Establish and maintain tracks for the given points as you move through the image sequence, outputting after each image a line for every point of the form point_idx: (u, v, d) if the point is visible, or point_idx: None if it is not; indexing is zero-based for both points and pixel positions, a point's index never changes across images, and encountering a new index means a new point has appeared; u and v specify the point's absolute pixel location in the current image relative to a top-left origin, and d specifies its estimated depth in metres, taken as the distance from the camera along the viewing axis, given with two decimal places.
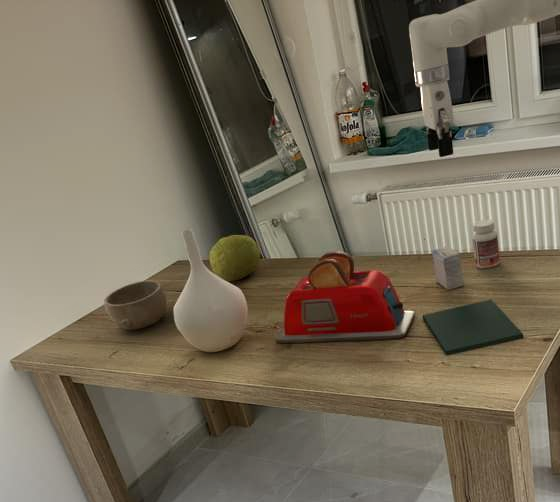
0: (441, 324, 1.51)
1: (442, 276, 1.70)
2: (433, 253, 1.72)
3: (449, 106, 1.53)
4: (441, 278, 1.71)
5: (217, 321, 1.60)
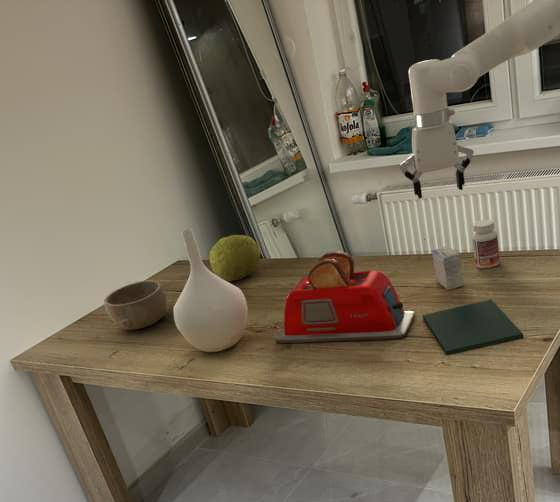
0: (441, 324, 1.51)
1: (442, 276, 1.70)
2: (433, 253, 1.72)
3: None
4: (441, 278, 1.71)
5: (217, 321, 1.60)
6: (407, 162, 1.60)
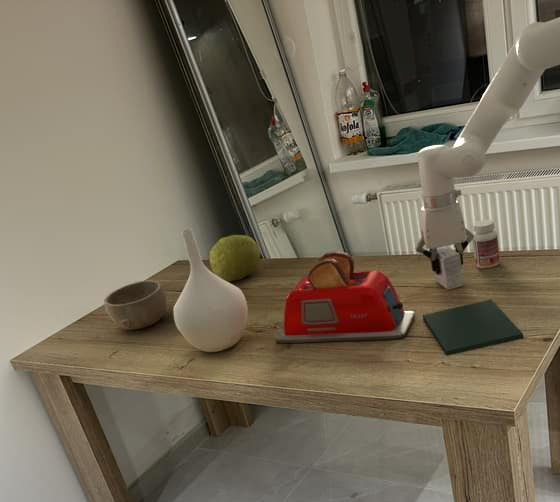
0: (441, 324, 1.51)
1: (442, 276, 1.70)
2: None
3: None
4: (441, 278, 1.71)
5: (217, 321, 1.60)
6: (421, 243, 1.67)
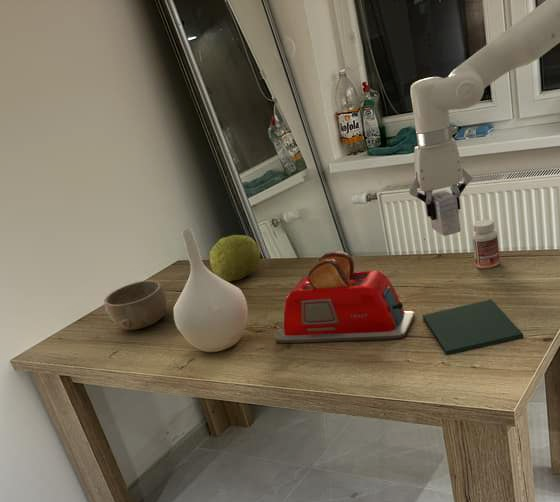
0: (441, 324, 1.51)
1: (438, 221, 1.59)
2: None
3: None
4: (436, 224, 1.61)
5: (217, 321, 1.60)
6: (415, 185, 1.56)
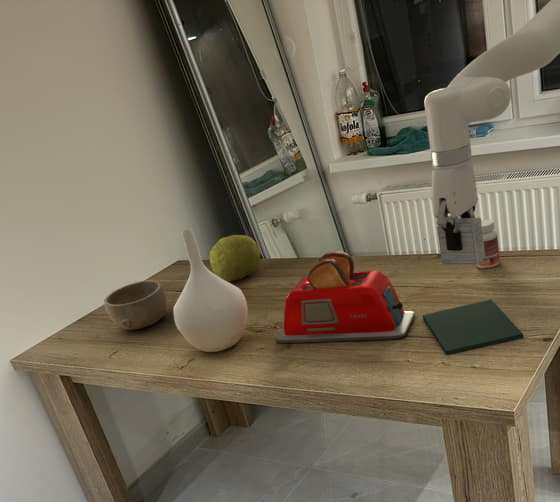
0: (441, 324, 1.51)
1: (465, 250, 1.38)
2: (441, 229, 1.39)
3: None
4: (459, 255, 1.39)
5: (217, 321, 1.60)
6: (444, 213, 1.32)
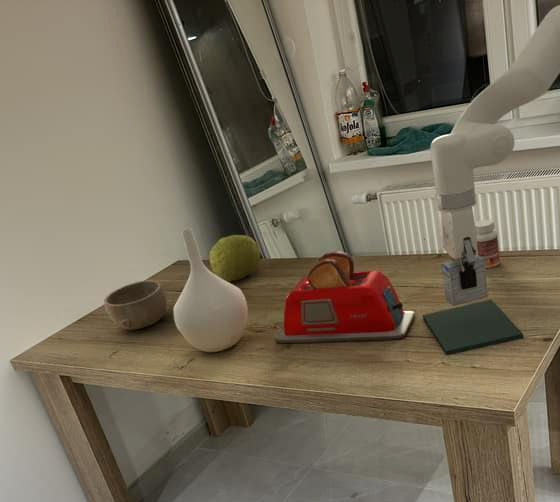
0: (441, 324, 1.51)
1: (476, 286, 1.42)
2: (453, 270, 1.40)
3: None
4: (471, 292, 1.43)
5: (217, 321, 1.60)
6: None
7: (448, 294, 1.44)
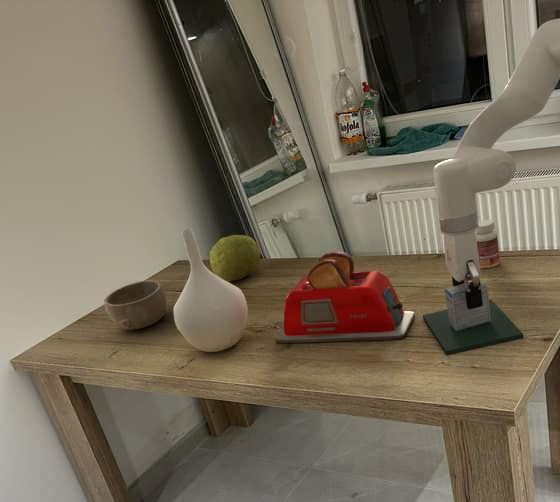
0: (441, 324, 1.51)
1: (479, 311, 1.45)
2: (456, 297, 1.43)
3: None
4: (474, 317, 1.45)
5: (217, 321, 1.60)
6: None
7: (451, 319, 1.47)
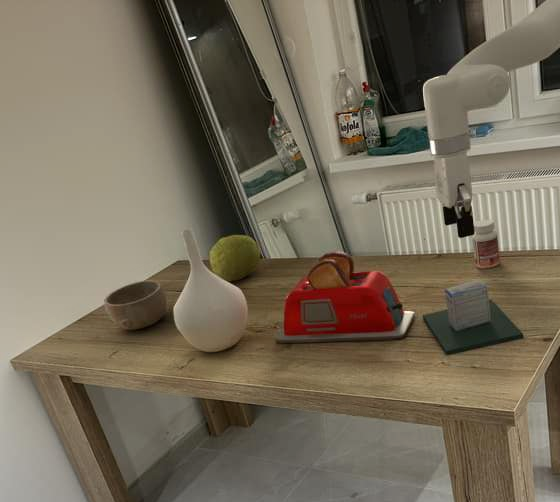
0: (441, 324, 1.51)
1: (479, 311, 1.45)
2: (456, 297, 1.43)
3: None
4: (474, 317, 1.45)
5: (217, 321, 1.60)
6: None
7: (451, 319, 1.47)
